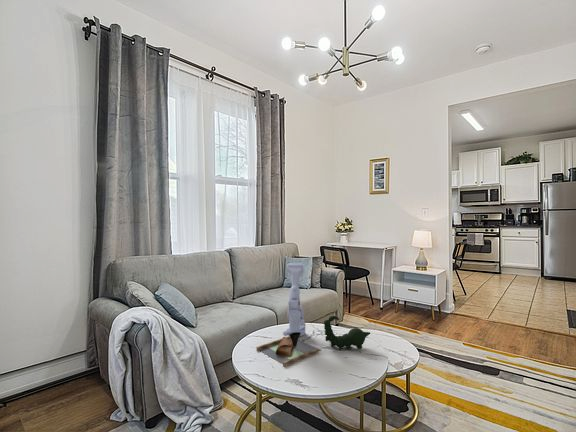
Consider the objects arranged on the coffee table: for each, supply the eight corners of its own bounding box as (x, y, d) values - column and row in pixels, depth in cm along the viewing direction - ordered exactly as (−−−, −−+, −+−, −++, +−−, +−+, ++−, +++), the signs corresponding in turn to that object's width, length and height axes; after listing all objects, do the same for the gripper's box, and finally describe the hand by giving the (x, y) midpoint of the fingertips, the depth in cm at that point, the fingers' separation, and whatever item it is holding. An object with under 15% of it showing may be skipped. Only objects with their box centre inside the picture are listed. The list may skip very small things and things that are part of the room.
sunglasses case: (291, 356, 168) (285, 344, 168) (280, 362, 169) (273, 350, 169) (296, 342, 185) (290, 332, 186) (286, 347, 187) (280, 337, 187)
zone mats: (295, 338, 193) (295, 338, 193) (321, 350, 176) (321, 350, 176) (259, 350, 176) (259, 350, 176) (284, 365, 159) (284, 365, 159)
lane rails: (289, 339, 192) (289, 335, 192) (318, 352, 173) (318, 348, 173) (256, 350, 176) (256, 346, 176) (284, 366, 158) (284, 362, 158)
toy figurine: (326, 353, 175) (373, 351, 173) (323, 319, 175) (370, 316, 173) (326, 346, 185) (370, 344, 182) (323, 313, 185) (367, 311, 182)
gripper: (289, 325, 170) (289, 351, 170) (309, 319, 179) (309, 344, 180) (280, 322, 175) (280, 347, 176) (300, 316, 185) (300, 340, 185)
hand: (294, 345), depth 178 cm, fingers closed, pressing on sunglasses case
